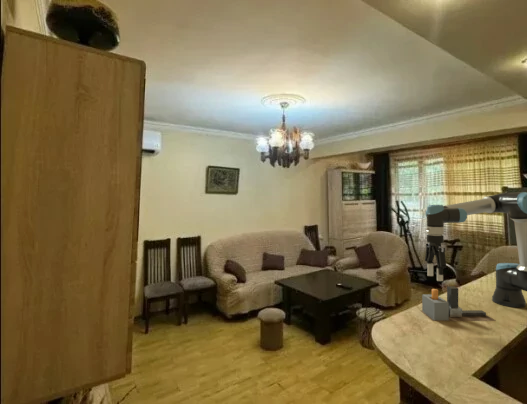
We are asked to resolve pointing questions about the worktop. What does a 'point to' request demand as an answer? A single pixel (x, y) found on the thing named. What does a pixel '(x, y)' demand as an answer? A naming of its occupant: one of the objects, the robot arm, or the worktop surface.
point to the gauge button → (434, 294)
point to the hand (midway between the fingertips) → (435, 278)
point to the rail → (473, 313)
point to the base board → (465, 318)
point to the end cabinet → (435, 307)
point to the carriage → (453, 302)
